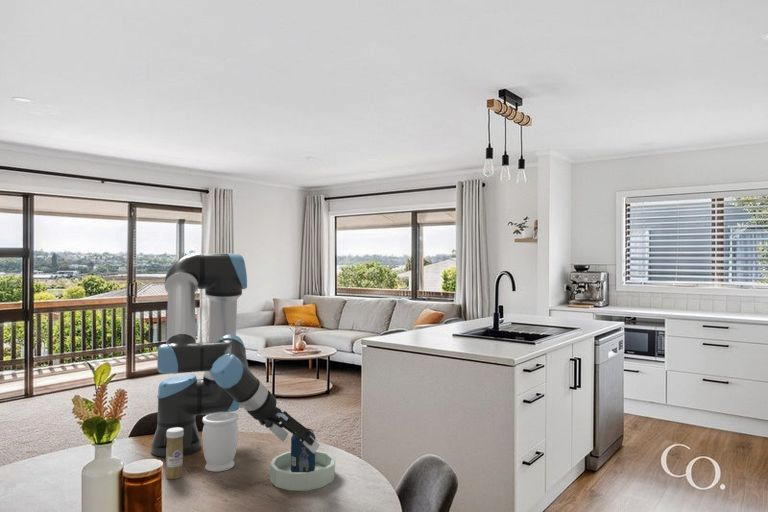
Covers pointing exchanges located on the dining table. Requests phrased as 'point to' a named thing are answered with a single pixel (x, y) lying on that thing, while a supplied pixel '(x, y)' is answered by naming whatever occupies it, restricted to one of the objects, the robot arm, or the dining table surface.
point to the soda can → (301, 456)
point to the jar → (220, 440)
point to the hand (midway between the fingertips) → (300, 443)
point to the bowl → (302, 480)
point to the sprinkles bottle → (174, 452)
